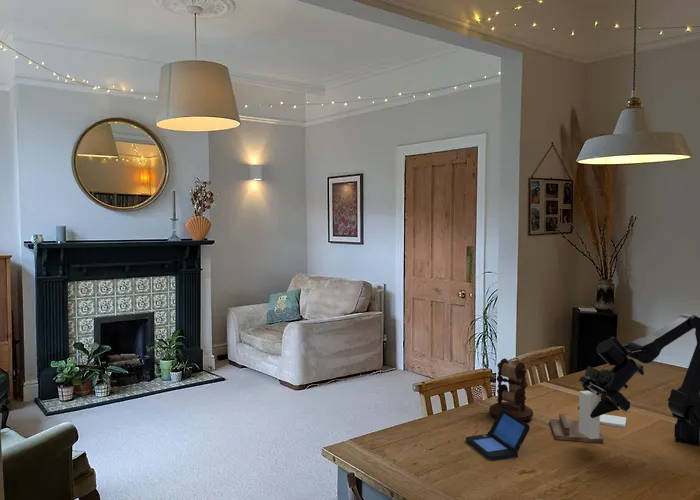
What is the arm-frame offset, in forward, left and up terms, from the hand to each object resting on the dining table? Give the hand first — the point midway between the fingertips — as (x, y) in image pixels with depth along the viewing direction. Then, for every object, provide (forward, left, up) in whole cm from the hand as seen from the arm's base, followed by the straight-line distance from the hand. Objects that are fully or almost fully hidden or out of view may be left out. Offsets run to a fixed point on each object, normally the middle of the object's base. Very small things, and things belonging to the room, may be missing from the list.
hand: (584, 413), depth 170 cm
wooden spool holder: (+28, -13, -11) cm, 33 cm away
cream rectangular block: (-1, -1, -7) cm, 7 cm away
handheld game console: (+21, +15, -11) cm, 28 cm away
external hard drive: (+1, -29, -12) cm, 31 cm away
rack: (+6, -12, -11) cm, 17 cm away
